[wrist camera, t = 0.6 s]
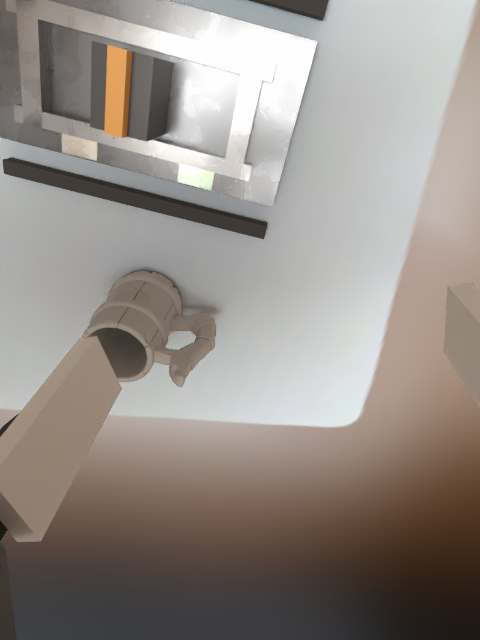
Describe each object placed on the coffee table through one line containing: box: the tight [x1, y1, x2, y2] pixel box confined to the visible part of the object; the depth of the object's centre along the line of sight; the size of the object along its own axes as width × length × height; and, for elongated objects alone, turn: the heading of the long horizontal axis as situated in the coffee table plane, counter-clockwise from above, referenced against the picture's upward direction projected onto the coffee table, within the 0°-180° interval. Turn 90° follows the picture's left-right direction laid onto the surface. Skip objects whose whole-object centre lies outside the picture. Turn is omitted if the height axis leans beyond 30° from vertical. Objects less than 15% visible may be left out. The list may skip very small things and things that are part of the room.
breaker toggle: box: [90, 41, 173, 142], centre depth 27 cm, size 4×5×6 cm
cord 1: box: [3, 158, 267, 239], centre depth 35 cm, size 24×1×1 cm, turn 77°
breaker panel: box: [0, 0, 317, 207], centre depth 30 cm, size 24×12×3 cm, turn 77°
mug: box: [82, 270, 216, 387], centre depth 36 cm, size 8×12×12 cm, turn 82°
